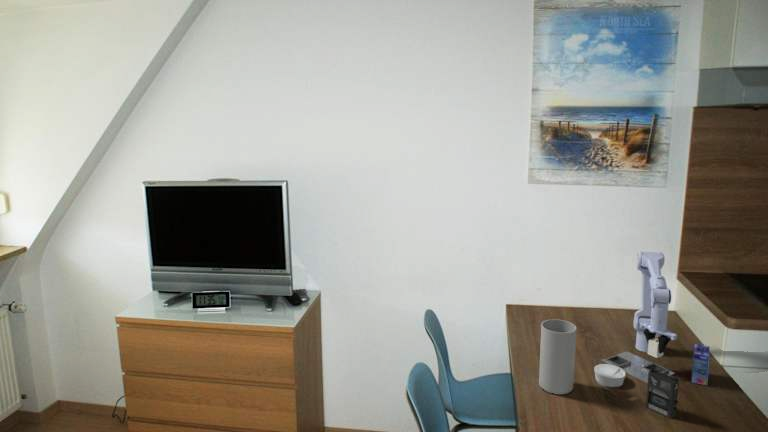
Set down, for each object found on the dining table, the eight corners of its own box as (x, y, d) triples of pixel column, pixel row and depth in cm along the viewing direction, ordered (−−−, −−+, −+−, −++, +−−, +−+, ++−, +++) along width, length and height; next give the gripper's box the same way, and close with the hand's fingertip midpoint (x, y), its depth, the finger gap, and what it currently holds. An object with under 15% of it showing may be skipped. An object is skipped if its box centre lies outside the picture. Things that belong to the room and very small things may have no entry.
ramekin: (628, 391, 194) (629, 378, 193) (596, 389, 196) (597, 376, 195) (620, 376, 204) (621, 364, 203) (590, 374, 206) (591, 362, 205)
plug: (654, 351, 207) (655, 336, 206) (663, 355, 204) (664, 340, 203) (647, 353, 206) (648, 338, 204) (656, 357, 202) (658, 342, 201)
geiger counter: (680, 415, 178) (684, 375, 175) (673, 420, 175) (677, 379, 172) (650, 402, 186) (653, 364, 183) (643, 406, 184) (646, 367, 181)
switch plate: (626, 353, 223) (627, 349, 223) (674, 375, 204) (675, 370, 204) (601, 362, 216) (601, 357, 216) (648, 385, 197) (648, 381, 197)
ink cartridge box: (691, 371, 207) (695, 337, 204) (707, 374, 204) (711, 340, 201) (690, 382, 199) (694, 347, 196) (707, 386, 196) (711, 350, 193)
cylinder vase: (570, 379, 203) (573, 320, 198) (575, 396, 191) (578, 334, 186) (537, 377, 205) (539, 318, 200) (540, 393, 193) (542, 331, 188)
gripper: (635, 313, 206) (633, 345, 209) (669, 326, 194) (666, 359, 196) (647, 310, 210) (644, 341, 212) (681, 322, 197) (678, 355, 200)
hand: (656, 350), depth 205 cm, fingers closed on plug, 4 cm apart
